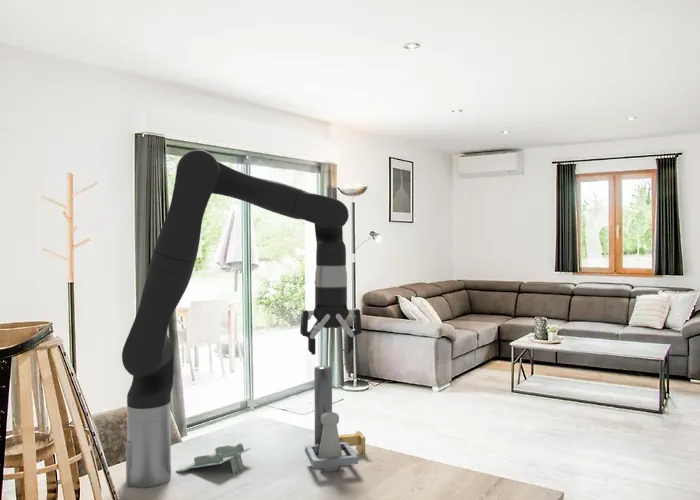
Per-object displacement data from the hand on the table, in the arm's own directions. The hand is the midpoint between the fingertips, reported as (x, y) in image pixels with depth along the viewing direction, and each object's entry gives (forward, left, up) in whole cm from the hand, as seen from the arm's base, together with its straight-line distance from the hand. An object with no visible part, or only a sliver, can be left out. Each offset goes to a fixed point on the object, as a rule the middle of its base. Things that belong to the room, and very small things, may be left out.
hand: (330, 353), depth 136 cm
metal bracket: (-26, +8, -28) cm, 39 cm away
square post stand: (+2, +4, -27) cm, 28 cm away
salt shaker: (0, 0, -27) cm, 27 cm away
